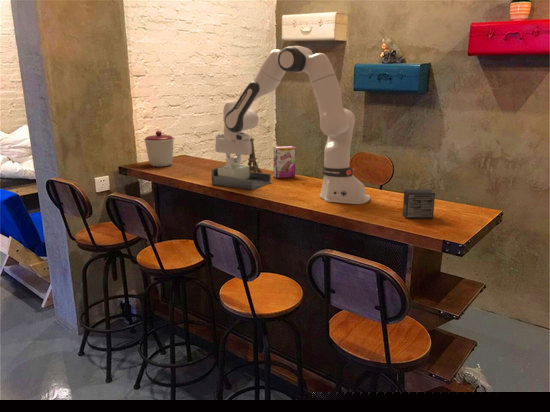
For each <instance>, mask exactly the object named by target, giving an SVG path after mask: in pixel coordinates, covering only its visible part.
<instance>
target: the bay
mask: <svg viewBox="0 0 550 412" xmlns="http://www.w3.org/2000/svg"><path fill="white" fill-rule="evenodd" d="M224 166H227V165H226V164H224V165H221V166H217V167H215V168H211V185H212V186H221V187H227V188H234V189H243V190H248V191H254V190H256V189H259V188H260V187H263V186H265V185H268V184H270V183H271V181H272V178H271V173H265V172H262V173H258V172H257V171H256V172H253V171H251V172H249V178H250V179H247V180H245V179H237V178H229V177H221V176H218V168H221V167H224Z"/></svg>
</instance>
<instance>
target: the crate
mask: <svg viewBox="0 0 550 412" xmlns="http://www.w3.org/2000/svg"><path fill="white" fill-rule="evenodd" d="M230 157H231V158H225V165H227V166H224V165H223V166H224V167H221V168H218V176H221V177H229V178H237V179H245V180H247V179H250V178H249V165H248V164H247V165H246V164H241V162H242V156H240V158H239V162H238V163H235V162H234V159H236V158H237V156H236V155H235V156H230Z"/></svg>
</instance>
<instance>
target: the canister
mask: <svg viewBox="0 0 550 412" xmlns="http://www.w3.org/2000/svg"><path fill="white" fill-rule="evenodd" d="M174 140H175V137H173V136H172V135H169V134H163V132H162V131H161V130H157V131H156V132H155V135H148V136H146V137H145V138H143V141H144V143H145V147H146V153H147V158H148V162H149V164H150V165H151V166H152V167H155V166H156V168H159V167H161V168H162V167H163V166H164V167H168V166H169V167H170V165H172V163H173V158H174Z"/></svg>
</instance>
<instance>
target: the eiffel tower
mask: <svg viewBox="0 0 550 412" xmlns="http://www.w3.org/2000/svg"><path fill="white" fill-rule="evenodd" d="M249 140H250V141H251V145H252V153H251V154H250V155H248V156H249V158H248V159H247V160H248V162H247V165H249V172H258V173H263V171H262V169H260V168H259V165H258V163H257V157H256V152H255V145H254V142H255V137H250V139H249Z"/></svg>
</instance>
